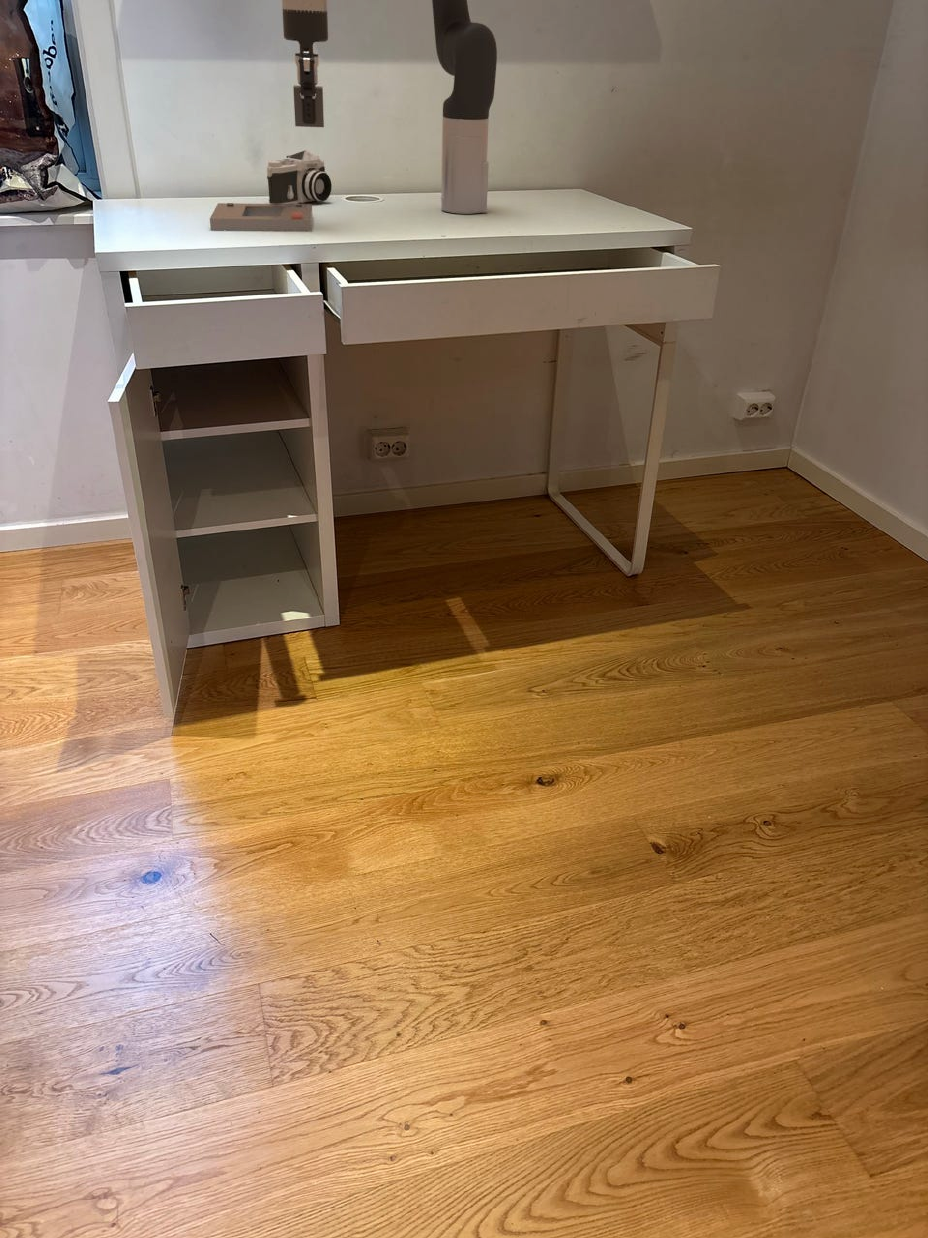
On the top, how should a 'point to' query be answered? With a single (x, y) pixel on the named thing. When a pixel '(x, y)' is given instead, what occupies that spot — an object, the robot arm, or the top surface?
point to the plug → (318, 107)
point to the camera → (298, 179)
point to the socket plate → (262, 217)
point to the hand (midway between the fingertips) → (309, 121)
